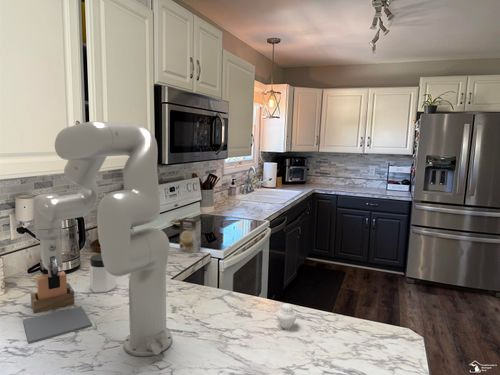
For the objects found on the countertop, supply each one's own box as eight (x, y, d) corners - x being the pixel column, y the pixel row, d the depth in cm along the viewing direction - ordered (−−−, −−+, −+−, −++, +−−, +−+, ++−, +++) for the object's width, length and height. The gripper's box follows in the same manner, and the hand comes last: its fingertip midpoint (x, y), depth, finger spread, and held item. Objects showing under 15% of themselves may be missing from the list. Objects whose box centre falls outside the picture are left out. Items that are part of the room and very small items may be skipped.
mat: (92, 325, 104) (92, 324, 104) (28, 343, 94) (28, 341, 94) (81, 307, 115) (81, 305, 115) (23, 322, 105) (23, 320, 105)
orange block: (67, 303, 118) (66, 274, 116) (39, 309, 113) (38, 280, 112) (65, 299, 121) (63, 271, 120) (38, 305, 116) (36, 276, 115)
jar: (118, 289, 129) (117, 257, 128) (95, 295, 124) (94, 262, 123) (110, 281, 136) (109, 251, 135) (88, 286, 131) (87, 255, 130)
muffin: (279, 332, 103) (279, 309, 102) (273, 321, 109) (274, 300, 108) (299, 330, 104) (300, 308, 103) (292, 320, 110) (293, 298, 109)
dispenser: (75, 304, 117) (74, 290, 116) (34, 313, 110) (33, 299, 109) (69, 295, 124) (69, 282, 123) (31, 303, 117) (30, 290, 116)
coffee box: (178, 251, 176) (178, 219, 174) (184, 247, 182) (184, 217, 180) (195, 253, 173) (195, 221, 171) (201, 249, 179) (201, 218, 177)
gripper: (67, 236, 109) (69, 289, 111) (57, 225, 123) (59, 272, 125) (39, 240, 105) (42, 295, 107) (32, 228, 118) (35, 277, 120)
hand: (51, 283), depth 116 cm, fingers open, 9 cm apart
